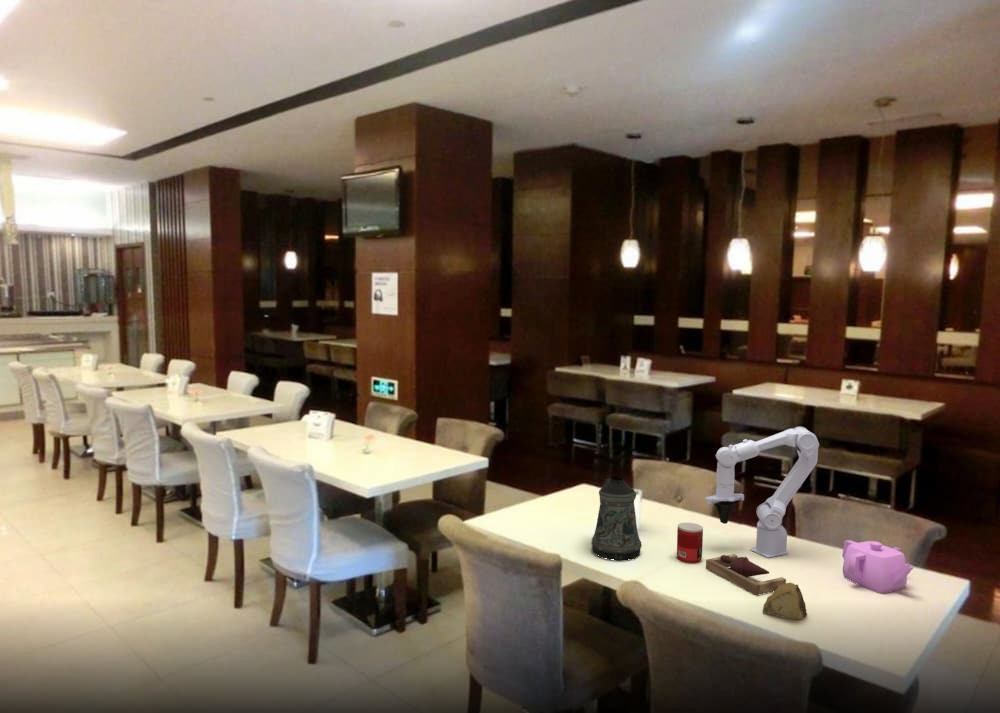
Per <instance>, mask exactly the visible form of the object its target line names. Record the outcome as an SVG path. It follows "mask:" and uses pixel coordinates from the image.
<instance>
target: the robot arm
mask: <svg viewBox="0 0 1000 713" xmlns="http://www.w3.org/2000/svg"><path fill="white" fill-rule="evenodd" d="M783 445H784V446H785V445H786V446H788V447H792V448H796V451H797V454H798V455H797V456H798V459H797V461H796V462H795V463H794V465H793V466H792V468H791V469H790V471H789V472H788V473H787V475H786V476H785V477H784V479H783V480H782V482H781V483H780V485H778V487H777V489H776V490H775V492H774V493H773V494H772V496H770V497H768V498H766V500H765V502H763V503H761V504H759V505H758V506H757V507H756V516H757V518H758V522H757V523H756V543H755V545H756V546H755V547H751V548H750V549H749V550H750V551H751V552H754V553H756V554H759V555H760V556H763V557H765V558H768V559H769V558H774V557H778V556H779V557H780V556H783V555H788V554H789V552H788V551H787V546H788V532H787V530H786V528H785V527H784V526H783V524H782V523H783V517H784V516H785V514H786V509H787V506H789V503H790V502H791V500H792V499H793V497H794V496H795V495H796V493H797V492H798V490H799V489H800V488H801V487H802V485H803V483H804V482H805V481H806V479H807V478H808V477H809V475H810V473H811V472H812V470H813V469H814V468H815V466H816V465H817V463H818V458H819V447H820V443H819V440H818V438H817V436H816V434H815V433H813V432H811V431H810V430H808V429H807V428H806V427H804V426H796V427H794V428H788V429H785V430H784V431H781V432H778V433H775V434H773V435H770V436H767V437H765V438H762V439H759V440H757V441H754V440H752V439H746V438H745V439H743V440H742V442H739V443H736V444H733V445H732V444H729V445H728V447H727V446H723V447H720V448H719V449H718V450H717V452H716V454H715V458H716V460H717V465H716V486H715V488H716V489H715V494H713V495H710V496H706V497H705V499H704V504H707V505H712V504H714V506H715V508H716V510H717V512H718V517H719V521H720V523H722V524H728V523H729V519H730V516H731V513H732V512H733V509H735V507H736V502H735V501H745V494H743V493H741V492H740V493H739V492H738V493H735V477H736V476H735V474H736V473H735V465H736V464H737V463H740V462H743V461H746V460H749V459H752V458H755V457H758V454H760V452H762V451H765V450H770V449H772V448H776V447H781V446H783Z"/></svg>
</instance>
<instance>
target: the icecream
mask: <svg viewBox="0 0 1000 713" xmlns="http://www.w3.org/2000/svg"><path fill="white" fill-rule="evenodd" d="M728 555H729V554H727V555H726V554H722V555H721V556H719V557H720V559H721V561H722V562H725V563H727V564H728V563H729V564H730V566H729V567H727V568H729V569H731V570H733V571H734V572H736V573H738V574H740V575H742V576H744V577H746V578H748V579H749V577H756V576H762V575H768V574H770V571H769V570H767V569H766V568H763V567H761V566H760V565H758V564H755V563H754V562H752V561H750V560H749V558H748V557H747V556H739V557H738V558H735V559H732V558H730V557H729V556H728Z"/></svg>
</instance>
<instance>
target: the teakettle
mask: <svg viewBox="0 0 1000 713" xmlns="http://www.w3.org/2000/svg"><path fill="white" fill-rule="evenodd" d="M841 557H842V559H843V563H842V574H843V577H844V578H845V579H846V578H847V579H846V580H848V579H849V580H848V581H850V580H851V581H850V582H852V581H853V582H852V583H854V582H855V584H856V583H857V584H856V585H858V584H859V585H858V586H860V585H861V587H862V586H863V587H862V588H866V589H867V588H868V589H867V590H870V589H871V590H870V591H872V590H873V592H875V591H876V593H878V592H879V594H886V593H885V592H887V593H891V592H890V591H892V592H895V590H896V591H899V590H898V589H900V590H903V589H905V587H906V585H907V582H908V575H909V574H910V573H911V572H912V570H913V569H914V566H913V565H911V564H910V563H906V558H905V554H904V553H903V552H902V548H899V547H896V546H894V547H889V546H887V545H883V543H881V542H879V541H874V540H873V541H872V540H868V541H860V542H856V541H853V540H851V539H847V540H844V542H843V548H842V556H841ZM902 588H903V589H902Z"/></svg>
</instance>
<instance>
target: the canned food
mask: <svg viewBox="0 0 1000 713" xmlns="http://www.w3.org/2000/svg"><path fill="white" fill-rule="evenodd" d="M703 528H704V527H703V526H702V525H700V524H698V523H694V522H679V523H678V524H677V531H676V533H677V534H676V535H677V536H676V537H677V538H676V557H677V559H678V560H679V561H680V562H683V563H687V564H697V563H700V562H701V561H702V559H703V543H704V542H703V539H704V538H703V536H704V529H703Z"/></svg>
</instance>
